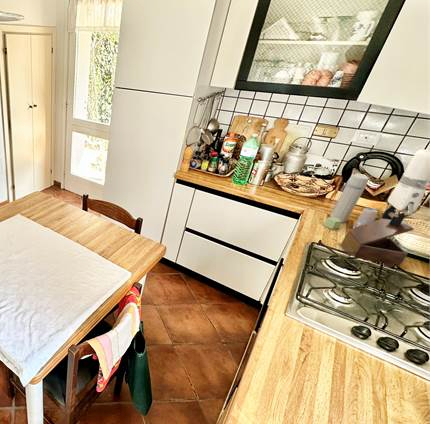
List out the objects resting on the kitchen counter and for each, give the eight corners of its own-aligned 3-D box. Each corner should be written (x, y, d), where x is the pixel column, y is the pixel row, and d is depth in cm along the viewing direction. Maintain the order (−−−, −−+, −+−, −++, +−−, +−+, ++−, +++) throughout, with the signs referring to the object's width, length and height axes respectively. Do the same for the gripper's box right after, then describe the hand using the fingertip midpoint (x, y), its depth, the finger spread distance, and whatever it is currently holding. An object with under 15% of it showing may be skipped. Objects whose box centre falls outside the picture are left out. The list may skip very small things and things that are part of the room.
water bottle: (346, 219, 166) (370, 176, 154) (345, 224, 161) (370, 180, 149) (325, 213, 172) (347, 171, 160) (324, 218, 167) (345, 175, 155)
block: (338, 228, 158) (342, 221, 155) (331, 229, 157) (335, 221, 154) (329, 224, 161) (333, 216, 159) (323, 224, 160) (327, 217, 158)
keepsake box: (382, 252, 139) (391, 238, 135) (397, 269, 129) (408, 254, 125) (340, 245, 144) (348, 231, 140) (351, 260, 134) (360, 245, 130)
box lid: (396, 215, 131) (391, 206, 130) (414, 229, 121) (408, 220, 120) (349, 230, 140) (344, 222, 139) (361, 245, 130) (356, 236, 129)
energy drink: (365, 229, 157) (377, 209, 151) (367, 234, 153) (380, 213, 147) (351, 226, 159) (363, 206, 154) (353, 231, 155) (365, 210, 150)
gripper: (441, 191, 111) (413, 233, 119) (413, 175, 125) (390, 214, 133) (414, 188, 113) (389, 230, 122) (389, 173, 127) (368, 211, 136)
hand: (390, 221), depth 128 cm, fingers closed on box lid, 5 cm apart
